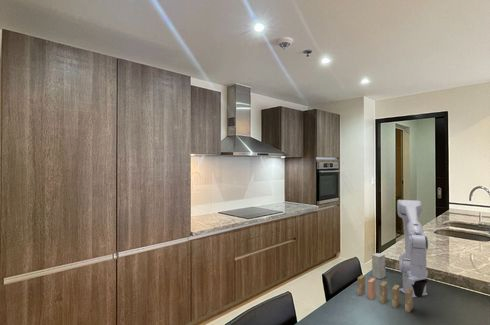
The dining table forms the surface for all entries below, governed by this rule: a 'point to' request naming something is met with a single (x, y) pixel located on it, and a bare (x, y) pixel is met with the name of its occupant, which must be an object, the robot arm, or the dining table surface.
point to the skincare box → (378, 265)
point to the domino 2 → (371, 288)
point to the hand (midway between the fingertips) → (418, 296)
